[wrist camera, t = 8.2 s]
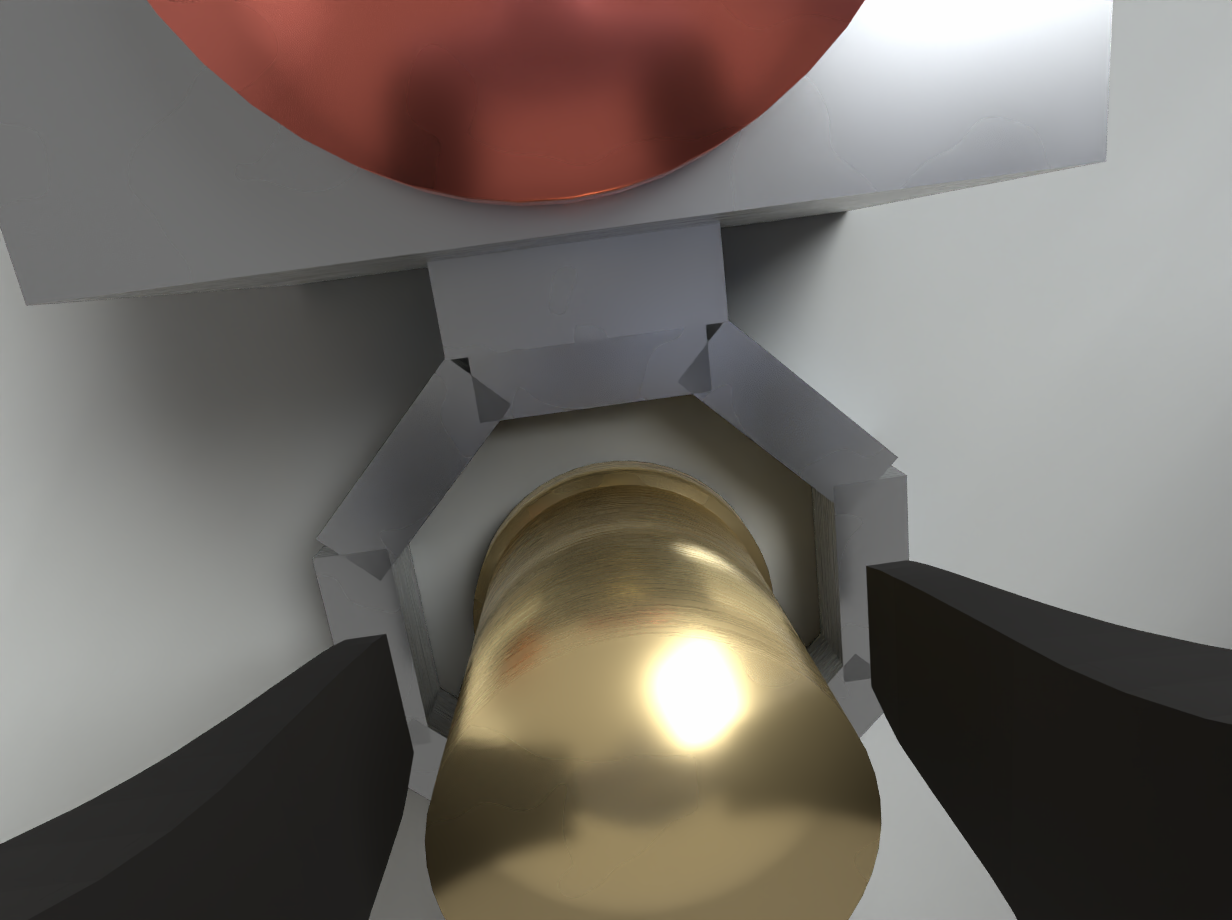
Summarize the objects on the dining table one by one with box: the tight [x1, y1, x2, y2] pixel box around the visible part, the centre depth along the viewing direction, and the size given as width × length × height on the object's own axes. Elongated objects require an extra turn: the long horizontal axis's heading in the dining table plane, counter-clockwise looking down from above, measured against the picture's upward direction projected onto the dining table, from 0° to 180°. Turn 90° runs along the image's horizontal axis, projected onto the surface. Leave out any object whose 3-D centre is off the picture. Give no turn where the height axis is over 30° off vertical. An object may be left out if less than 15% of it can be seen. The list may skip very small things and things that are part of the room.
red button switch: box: [0, 0, 1113, 801], centre depth 9 cm, size 10×20×7 cm, turn 7°
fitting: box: [425, 461, 881, 920], centre depth 11 cm, size 5×5×6 cm
